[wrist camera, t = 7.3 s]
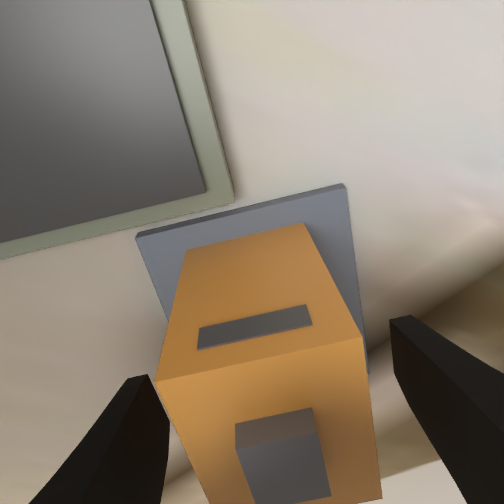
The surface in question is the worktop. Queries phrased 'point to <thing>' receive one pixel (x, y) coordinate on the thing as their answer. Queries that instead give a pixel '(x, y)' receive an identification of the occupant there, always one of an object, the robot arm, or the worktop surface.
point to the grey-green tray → (102, 121)
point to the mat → (255, 221)
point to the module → (268, 375)
